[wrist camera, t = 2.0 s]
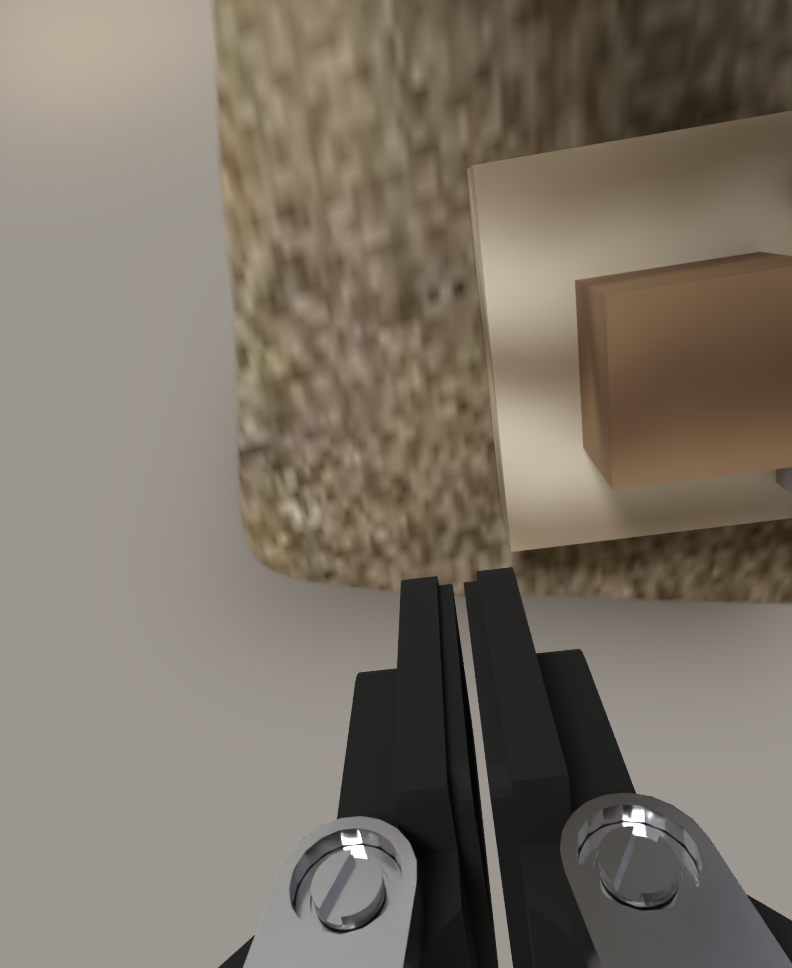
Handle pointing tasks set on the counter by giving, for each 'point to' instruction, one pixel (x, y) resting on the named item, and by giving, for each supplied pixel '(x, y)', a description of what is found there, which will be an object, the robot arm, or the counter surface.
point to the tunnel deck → (599, 252)
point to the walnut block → (687, 369)
